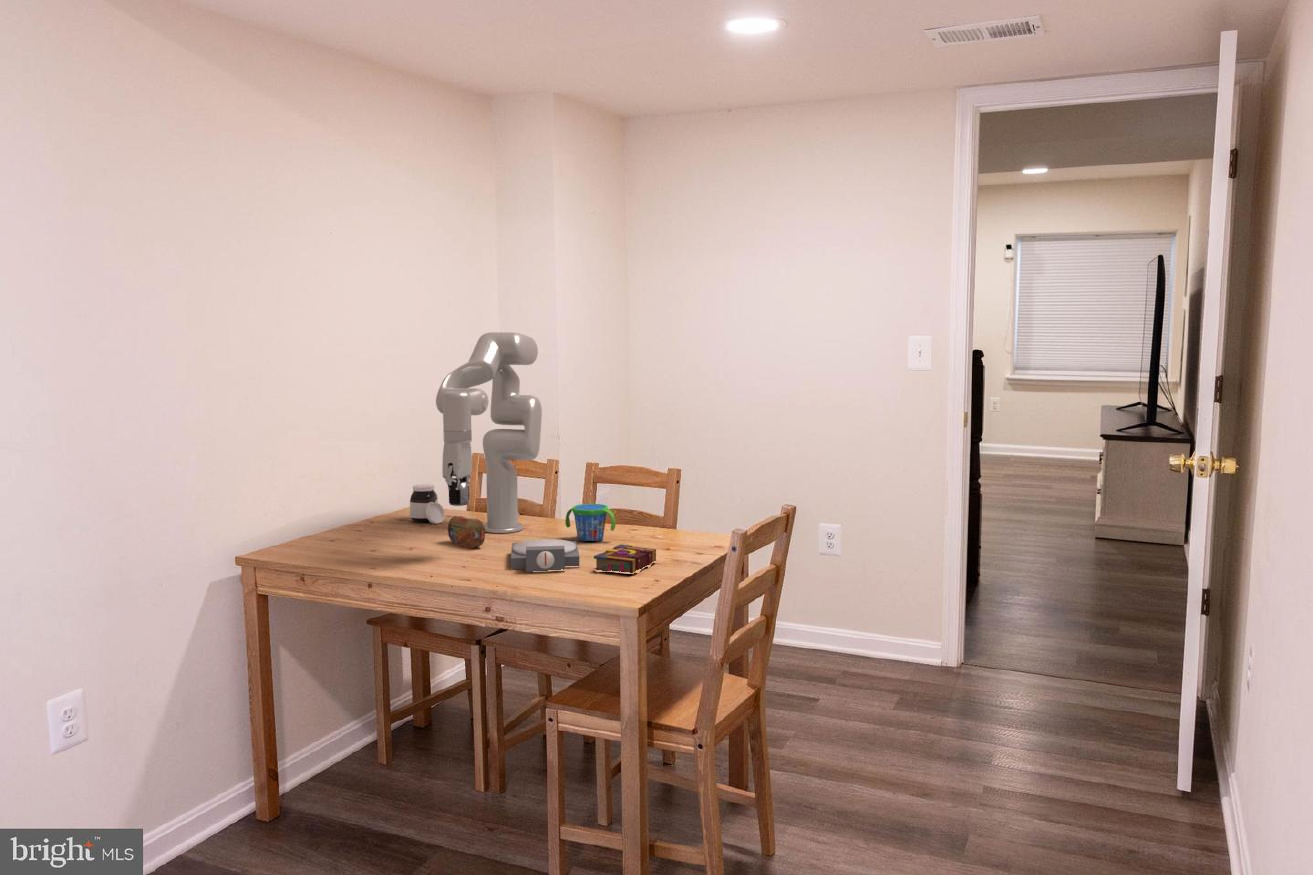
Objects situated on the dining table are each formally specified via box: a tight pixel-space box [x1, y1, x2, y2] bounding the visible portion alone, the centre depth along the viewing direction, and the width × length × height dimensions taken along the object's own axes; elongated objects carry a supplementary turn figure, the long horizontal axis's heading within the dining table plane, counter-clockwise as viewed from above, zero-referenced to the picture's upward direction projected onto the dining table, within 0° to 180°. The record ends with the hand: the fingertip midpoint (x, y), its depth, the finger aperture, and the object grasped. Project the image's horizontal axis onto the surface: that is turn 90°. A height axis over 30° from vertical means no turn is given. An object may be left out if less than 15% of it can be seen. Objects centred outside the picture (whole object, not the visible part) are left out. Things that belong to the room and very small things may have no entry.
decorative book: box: [593, 543, 657, 573], centre depth 261 cm, size 11×16×5 cm
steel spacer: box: [449, 481, 470, 507], centre depth 271 cm, size 5×5×6 cm
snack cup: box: [564, 503, 617, 542], centre depth 294 cm, size 16×10×10 cm
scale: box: [510, 538, 580, 572], centre depth 267 cm, size 22×18×6 cm
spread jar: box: [409, 483, 446, 525], centre depth 320 cm, size 12×11×12 cm
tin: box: [447, 515, 486, 549], centre depth 287 cm, size 15×3×8 cm, turn 47°
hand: (459, 501), depth 271 cm, fingers closed on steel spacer, 5 cm apart
